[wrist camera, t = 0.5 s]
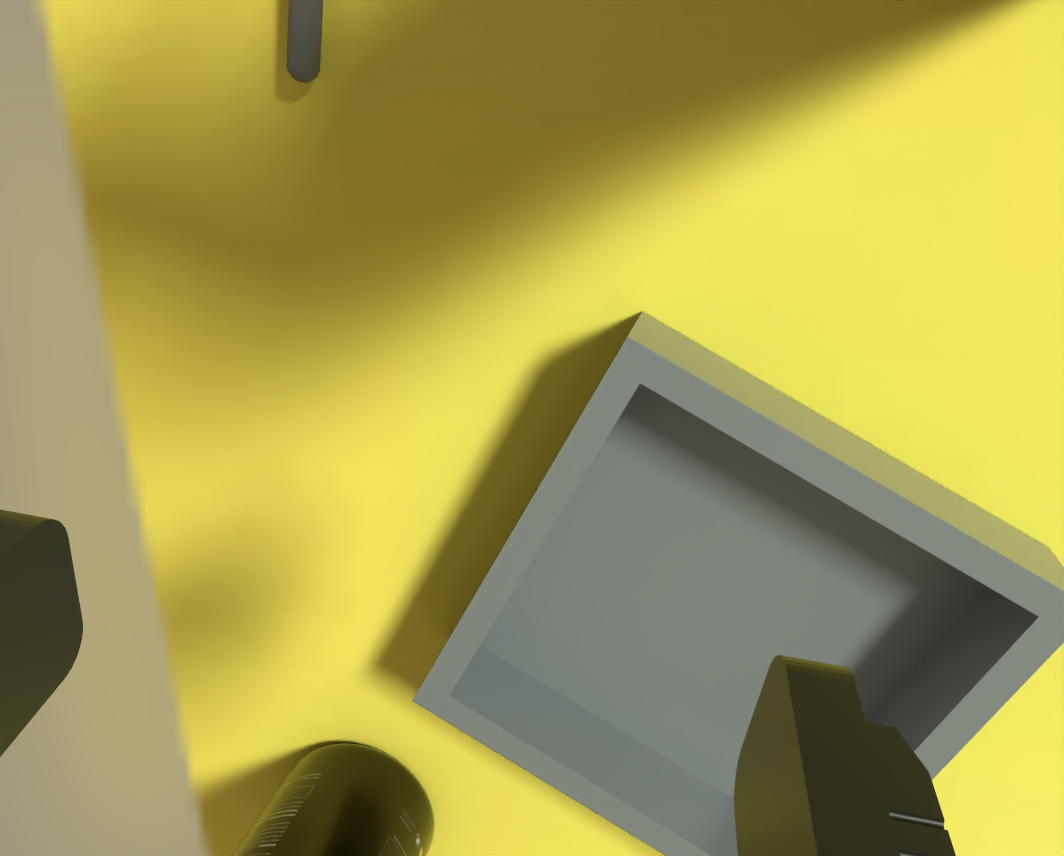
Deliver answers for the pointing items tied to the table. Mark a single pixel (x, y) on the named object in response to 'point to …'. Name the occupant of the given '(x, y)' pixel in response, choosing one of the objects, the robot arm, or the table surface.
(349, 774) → the supplement bottle
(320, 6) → the walkie-talkie
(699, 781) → the tray
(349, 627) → the table surface
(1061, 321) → the table surface
